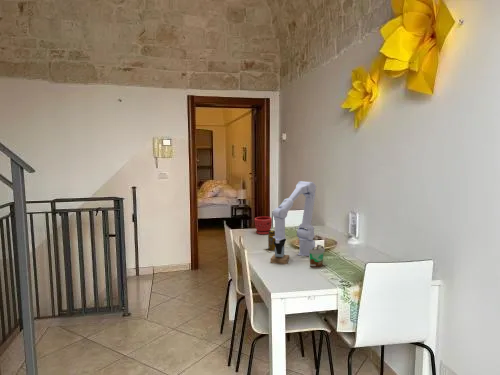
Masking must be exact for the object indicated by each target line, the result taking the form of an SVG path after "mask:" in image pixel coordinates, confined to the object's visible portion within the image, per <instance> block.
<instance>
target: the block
mask: <svg viewBox="0 0 500 375" xmlns="http://www.w3.org/2000/svg"><path fill="white" fill-rule="evenodd" d="M274 254H275V257H283V256H284V255H285V245H284V246H282V252H281V254H277V251H276V247H275V251H274Z"/></svg>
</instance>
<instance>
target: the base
mask: <svg viewBox="0 0 500 375" xmlns="http://www.w3.org/2000/svg"><path fill="white" fill-rule="evenodd" d="M289 261H290V255H289V254H284V256H283V257H275V253H274V254H273V255H272V256H271V257H270V264H280V265H287V264H288V262H289Z"/></svg>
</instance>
